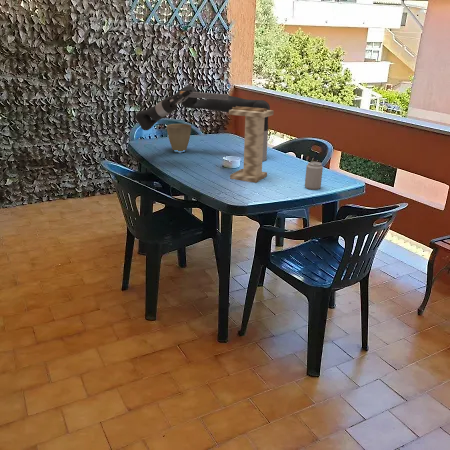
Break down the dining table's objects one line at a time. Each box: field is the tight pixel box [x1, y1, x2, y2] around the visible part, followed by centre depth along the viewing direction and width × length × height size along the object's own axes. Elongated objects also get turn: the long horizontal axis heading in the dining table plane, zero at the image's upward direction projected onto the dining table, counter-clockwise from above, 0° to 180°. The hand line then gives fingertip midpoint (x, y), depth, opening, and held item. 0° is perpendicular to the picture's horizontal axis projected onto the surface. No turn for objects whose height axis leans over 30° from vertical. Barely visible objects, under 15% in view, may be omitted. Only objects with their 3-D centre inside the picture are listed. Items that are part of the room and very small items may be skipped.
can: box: [304, 161, 324, 191], centre depth 212 cm, size 8×8×12 cm
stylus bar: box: [180, 91, 229, 100], centre depth 225 cm, size 26×2×2 cm, turn 63°
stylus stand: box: [228, 106, 275, 184], centre depth 222 cm, size 18×14×34 cm
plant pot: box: [166, 123, 192, 151], centre depth 276 cm, size 15×15×16 cm
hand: (190, 91), depth 228 cm, fingers closed on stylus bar, 2 cm apart
